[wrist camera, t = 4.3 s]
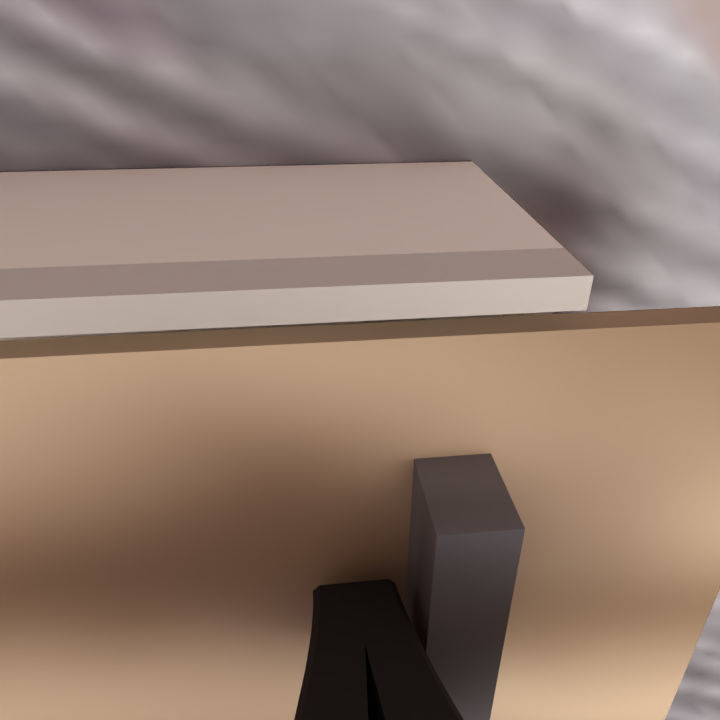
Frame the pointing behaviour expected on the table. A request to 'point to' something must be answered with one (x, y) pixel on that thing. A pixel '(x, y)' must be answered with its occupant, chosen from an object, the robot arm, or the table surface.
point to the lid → (360, 510)
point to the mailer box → (270, 249)
